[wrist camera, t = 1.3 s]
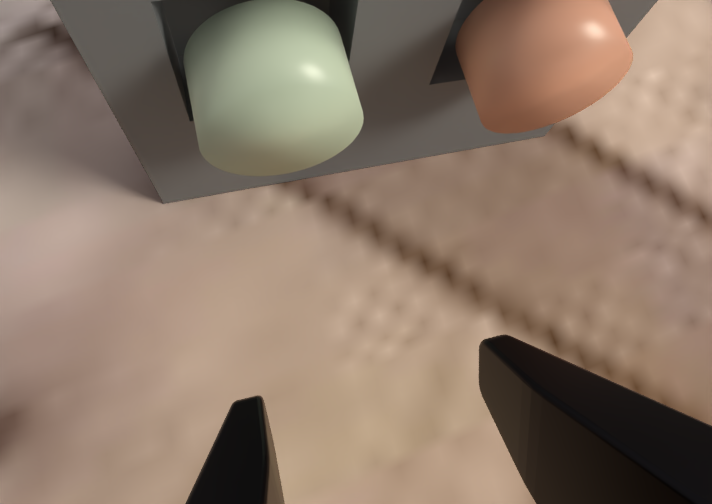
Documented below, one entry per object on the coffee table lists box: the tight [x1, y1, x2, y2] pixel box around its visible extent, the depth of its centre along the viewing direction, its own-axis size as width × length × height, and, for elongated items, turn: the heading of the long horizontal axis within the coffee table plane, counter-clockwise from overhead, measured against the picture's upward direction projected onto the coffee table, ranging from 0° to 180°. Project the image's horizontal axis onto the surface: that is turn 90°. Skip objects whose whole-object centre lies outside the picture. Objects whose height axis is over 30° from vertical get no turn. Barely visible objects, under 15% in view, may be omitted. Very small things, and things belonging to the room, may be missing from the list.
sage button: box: [183, 0, 364, 176], centre depth 15 cm, size 2×4×4 cm, turn 104°
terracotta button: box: [455, 0, 633, 134], centre depth 16 cm, size 2×4×4 cm, turn 104°
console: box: [51, 0, 658, 204], centre depth 18 cm, size 4×17×12 cm, turn 105°
